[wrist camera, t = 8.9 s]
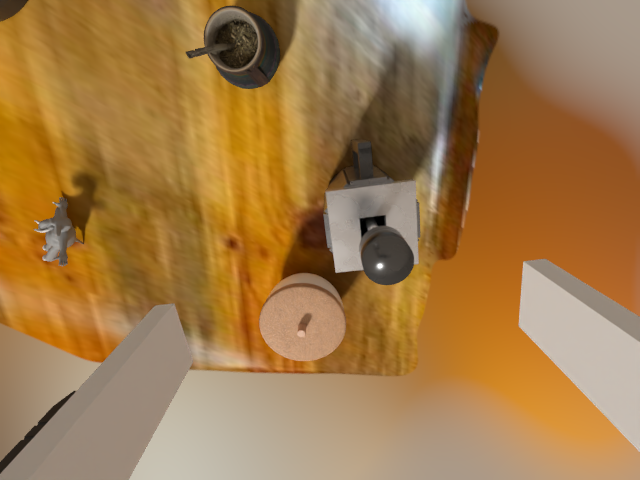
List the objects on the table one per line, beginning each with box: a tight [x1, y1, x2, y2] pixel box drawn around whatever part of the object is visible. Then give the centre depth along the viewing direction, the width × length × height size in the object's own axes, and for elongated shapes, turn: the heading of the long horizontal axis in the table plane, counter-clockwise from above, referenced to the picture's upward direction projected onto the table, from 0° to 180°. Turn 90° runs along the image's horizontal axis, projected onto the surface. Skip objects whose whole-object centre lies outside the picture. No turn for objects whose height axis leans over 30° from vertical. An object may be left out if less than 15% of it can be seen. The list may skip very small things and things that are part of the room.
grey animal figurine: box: [34, 197, 84, 266], centre depth 43 cm, size 10×6×9 cm
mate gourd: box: [186, 6, 280, 89], centre depth 33 cm, size 7×8×10 cm
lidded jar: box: [259, 273, 346, 361], centre depth 43 cm, size 11×11×9 cm
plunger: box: [359, 215, 414, 285], centre depth 31 cm, size 6×6×18 cm
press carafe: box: [323, 139, 420, 273], centre depth 36 cm, size 12×9×13 cm
